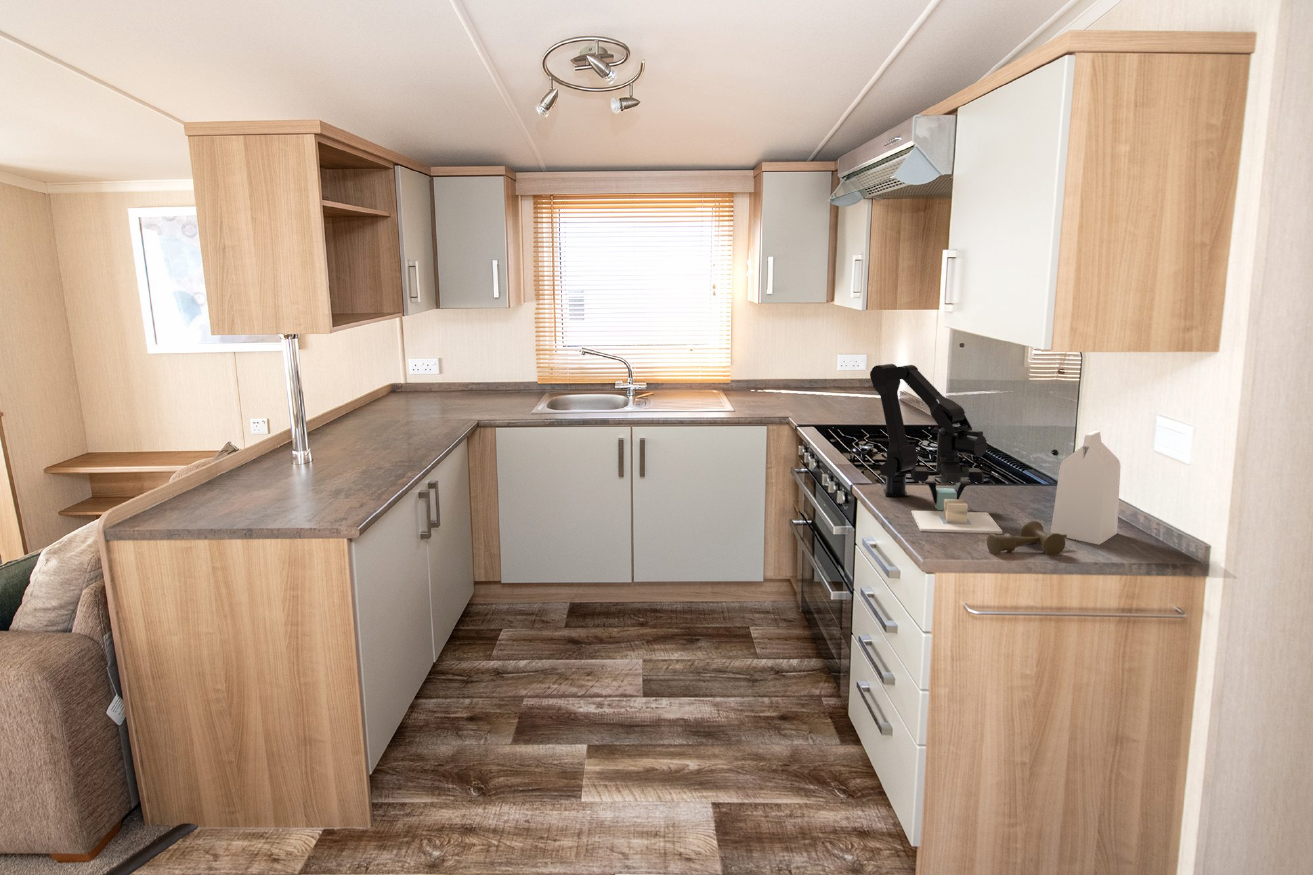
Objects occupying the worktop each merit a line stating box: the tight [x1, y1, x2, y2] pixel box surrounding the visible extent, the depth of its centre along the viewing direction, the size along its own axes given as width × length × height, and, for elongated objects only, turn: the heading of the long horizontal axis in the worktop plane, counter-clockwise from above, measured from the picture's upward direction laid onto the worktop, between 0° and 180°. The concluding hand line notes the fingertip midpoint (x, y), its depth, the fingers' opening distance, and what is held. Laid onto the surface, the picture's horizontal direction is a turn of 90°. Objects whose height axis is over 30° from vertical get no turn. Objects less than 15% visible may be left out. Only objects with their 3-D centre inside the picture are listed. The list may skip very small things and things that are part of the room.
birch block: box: [943, 498, 969, 523], centre depth 213 cm, size 5×5×5 cm
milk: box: [1050, 430, 1121, 545], centre depth 201 cm, size 12×12×26 cm
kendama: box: [986, 520, 1067, 556], centre depth 192 cm, size 6×10×20 cm
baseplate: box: [911, 510, 1003, 535], centre depth 214 cm, size 16×20×1 cm
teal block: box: [933, 487, 957, 511], centre depth 227 cm, size 5×5×5 cm
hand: (945, 504), depth 227 cm, fingers closed on teal block, 5 cm apart
